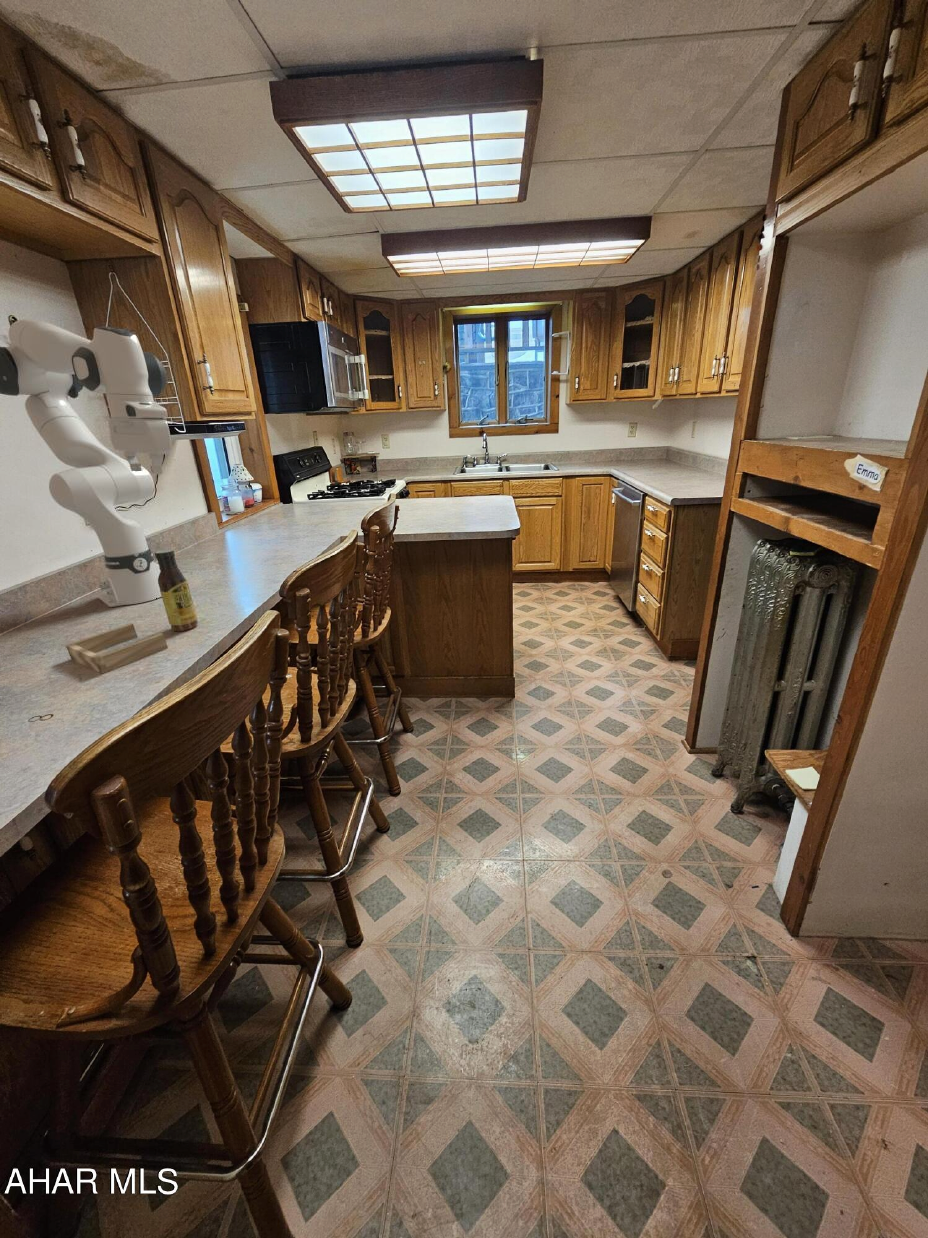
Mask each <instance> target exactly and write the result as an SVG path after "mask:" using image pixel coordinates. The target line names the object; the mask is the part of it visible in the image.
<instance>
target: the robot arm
mask: <svg viewBox="0 0 928 1238" xmlns="http://www.w3.org/2000/svg"><path fill="white" fill-rule="evenodd" d="M8 338H9V342H10V345H9V346H6V347H5V346H0V394H1V395H4V396H13V397H14V396H15V397H17V396H19V395H20V396H23V395H24V396H25V395H27V396H28V397H27V398H26V400H25V403H24V407H25V410H26V413H27V416H28V417H29V420H30V422H31V423H32V425H33V426H34V428H35V430H36V432H37V433H38V435H40V437H41V438H42V439H43V441H44V442H45V444H46V446H48V448H49V449H50V450H51V452H52V453H53V455H54V456H55V457H56V458H57V459H58V460H59V461H60V462H62V463H64V464H65V465H67V466H70V467H72V468H70V469H66V470H63V471H59V472H56V473H54V474H53V475H51V477H50V479H49V482H48V490H49V493H50V496H51V497H52V499H53V500H54V502H56V504H58V505H59V506H60V507H61V508H63V509H65V510H67V511H68V510H69V511H70V512H73V513H75V514H76V515H79V517H81V518H83V520H84V521H86V522H87V523H88V524H89V526H90V527H91V528H92V529H93V531H94V532H95V535H96V537H97V538H98V541H99V543H100V545H101V547H102V550H103V552H104V553H103V554H104V563H105V568H107V569H106V571H105V574H104V575H103V577H102V578H101V581H102V582H99V583H98V587H99V588H100V590H101V591H105V592H103V593H100V594H98V599H99V600H100V601H101V602H102V603H104V605H106V606H107V607H109V608H112V607H114V608H115V607H118V606H119V607H120V606H127V605H128V606H129V605H136V604H141V603H146V602H150V601H154V600H157V599H159V598H162V596H161V593H160V587H159V584H158V577H159V574H160V572H161V571H160V569H159V564H158V562H157V563H156V562H155V558H154V554H153V552H152V550H151V548H149V546H148V542H147V540H146V537H145V533H144V530H143V527H142V525H140V523H139V522H137V521H136V520H134V519H133V518H129V517H126V516H122V515H120V513H118V512H117V510H116V509H115V506H117V505H124V504H129V503H134V502H138V501H139V502H140V501H141V500H143V499H146V498H148V497H150V496H152V494H153V492H154V488H155V482H154V478H153V476H152V475H162V474H163V468H162V466H163V459H164V458H163V455H170V454H171V453H172V450H173V448H172V447H173V446H172V438H171V433H170V428H169V425H168V422H167V420H166V419H168V417H169V416H168V415H169V414H168V411H167V409H166V408H165V407H164V406H162V405H161V404H159V403H158V402H156V401H155V400H154V398H155V399H156V398H158V397H159V396H161V394H162V393H163V392H164V391H165V390H166V388H167V387H168V386H167V385H168V382H169V381H168V380H169V378H168V374H167V373H168V372H167V370H166V368H165V366H164V365H163V363H162V362H161V361H160V360H159V359H158V357H156V356H155V354H153V353H151V352H149V351H143V349H142V346H141V343H140V341H139V338H138V336H137V335H136V334H134V332H132V331H130V330H127V329H124V328H123V329H122V328H115V327H112V326H111V327H109V326H103V325H101V326H96V327H95V328H94V329H93V337H92V339H91V340H90V339H89V338H88V339H87V338H86V337H83V336H81V335H78V334H75V333H74V332H72V331H69V330H67V329H65V328H62V327H59V326H58V325H55V324H53V323H50V322H46V321H44V320H39V319H33V318H26V319H25V318H23V319H19V320H16V321H14V322H13V323H12V324H11V325H10V326H9V329H8ZM84 388H85V389H87V390H88V391H90V392H93V393H98V394H105V396H106V400H107V404H108V408H109V413H110V418H109V419H108V428H109V434H110V440H111V445H112V447H113V449H114V450H115V451H119V452H123V455H124V457H125V459H124V458H122V457H120V456H119V455H117V454H116V453H114V452H113V451H111V450H109V448H107V447H106V446H105V445H103V444H102V443H101V442H100V441H99V440H98V439H97V437H95V435H94V434H93V433H92V432H91V430H90V429H89V427H88V426H87V425H86V424H85V422H84V421H83V419H81V418H82V417H80V416H79V414H78V413H77V412H76V410H74V408H73V407H72V406H71V404H70V401H69V398H68V397H70V399H71V398H72V399H76V398H78V397H79V393H80V392H81V391H82V390H83V389H84ZM137 453H139V454H140V453H142V454H149V458H150V459H151V465H149V468H150V471H148V470H147V469H146V467H144V466H143V465H141V463H139V461H138V458H137V457H138V454H137ZM150 472H151V473H150ZM156 598H157V599H156Z"/></svg>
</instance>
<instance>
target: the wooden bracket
mask: <svg viewBox="0 0 928 1238" xmlns="http://www.w3.org/2000/svg"><path fill="white" fill-rule="evenodd" d="M134 625H135V624H134V623H131V622H130V623H127V624H124V625H121V626H119V627H116V628H113V629H110V630H107V631H104V632H101V633H98V634H95V635H92V636H90V637H89V636H88V637H86V638H82V639H79V640H77V641H74V642H71V643H68V644H66V645H65V648H66V650H67V653H68V654H69V657H70V659H71V660H72V661H75V662H76V663H78V664H80V665H83V666H84V667H87V668H89V669H91V670H94V671H95V672H97V673H100V674H102V675H103V674H106V673H108V672H111V671H114V670H116V669H118V668H121V667H124V666H125V665H128V664H131V663H134V662H136V661H138V660H142V659H144V658H146V657H149V656H151V655H153V654H156V653H159V652H161V651H164V650H167V649H168V648H169V647H168V643H167V641H166V637H165V634H164V633H162V632H161V633H157V634H155V635H151V636H149V637H146V638H145V639H142V640H138V641H136V642H134V643H131V644H128V645H125V646H123V647H120V648H117V649H114V650H112V651H109V652H106V653H104V654H101V655H100V654H98V653H97V652H100V651H102V650H106V649H108V647H109V648H111V647H114V646H117V645H119V643H120V644H122V643H121V642H123V643H125V642H127V641H130V639H131V640H132V639H133V638H134V637H136V638H138V634H137V631H136V629H135V626H134ZM134 639H135V638H134ZM134 639H133V640H134ZM116 644H117V645H116ZM113 645H114V646H113Z"/></svg>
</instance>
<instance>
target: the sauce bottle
mask: <svg viewBox="0 0 928 1238" xmlns="http://www.w3.org/2000/svg"><path fill="white" fill-rule="evenodd" d="M175 556H176V555H175V552H174V550H173V549H171V548H170V549H163V550H158V551H155V552H154V557H155V559H157V564H159V569H160V571H161V572H160V574H159V577H158V584H159V587H160V593H161V596H162V597H161V600H162V602H163V607H164V610H165V613H166V617H167V619H168V623H169V625H170V628H171V630H172V631H173V632H183V631H187V630H191V629H194V628H195V627H196V626H197V625H198V624H199V623H198V622H199V621H198V616H197V612H196V608H195V606H194V605H195V604H194V602H193V598H192V593H191V590H190V587H189V583H188V580H187V579H186V578H185V575H183V573H182V572H181V570H180V569H179V567H178V564H177V562H176V557H175Z"/></svg>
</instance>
